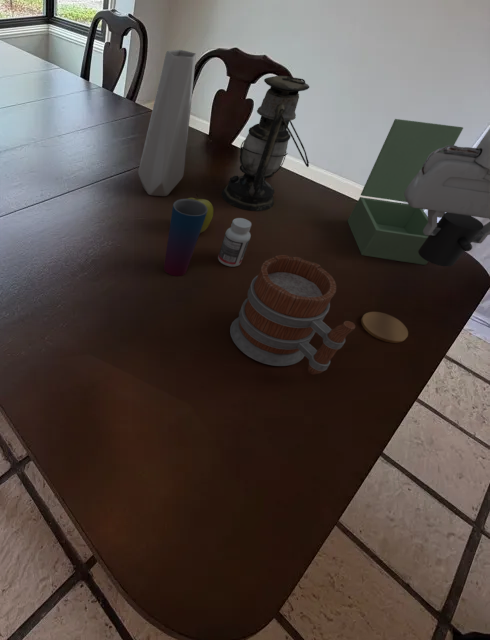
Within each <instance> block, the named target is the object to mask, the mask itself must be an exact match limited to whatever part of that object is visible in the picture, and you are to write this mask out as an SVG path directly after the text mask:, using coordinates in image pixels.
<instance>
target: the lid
mask: <svg viewBox="0 0 490 640" xmlns="http://www.w3.org/2000/svg"><path fill="white" fill-rule="evenodd" d="M463 130H464V127H463V126H458V125H457V126H456V125H447V124H439V123H431V122H423V121H416V120H408V119H400V118H394V120H393V122H392V124H391V127H390V129H389V131H388V133H387V136H386V137H385V139H384V142H383V144H382V146H381V149H380V151H379V153H378V155H377V158H376V160H375V162H374V164H373V166H372V168H371V170H370V173H369V176H368V177H367V179H366V182H365V184H364V186H363V187H362V190H361V193H360V197H366V198H373V199H380V200H387V201H394V202H401V203H403V202H404V203H407V201H406V199H405V196H404V192H405V190H406V188H407V187H408V185H409V184H410V183H411V181H412V180H413V179H414V177H415V176H416V175H417V173H418V172H419V171H420V170H421V169H422V167H423V164H424V163H425V161H426V159H427V158H428V156H429V155H430V154H431V153H432V152H433V151H435V150H437V149H440V148H444V147H445V146H447V145H454V146H455V145H456V143H457V141H458V139H459V137H460V135H461V133H462V131H463ZM439 152H443V151H439Z"/></svg>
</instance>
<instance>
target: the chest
mask: <svg viewBox="0 0 490 640" xmlns="http://www.w3.org/2000/svg"><path fill="white" fill-rule="evenodd" d="M346 221H347V223H348V226H349V228H350V231H351V233H352V236H353V238H354V241H355V243H356V245H357V247H358V250H359V252H360V254H361V256H366V257H372V258H377V259H378V258H379V259H384V260H391V261H398V262H403V263H410V264H417V265H422V266H426V265H427V264H428V263H429V262H428V261H426V260H425V259H423V258H422V257H421V256H420V255H419V253H418V251H419V249H420V248H421V246H422V245H423V243H424V242H425V240H426V239H427V238H428V236H427V235H425V234H424V233H423V229H424V228H425V226H426V225H427V223H428V214H427V213H426V212H425V210H424V209H419V208H413V207H411V206H410V205H409V204H408V203H406V202H404V203H403V202H399V201H392V200H385V199H378V198H371V197H364V196H360V197H359V198H358V200H357V202H356V203H355V205H354V207H353V209H352V210H351V213H350V215H349V216H348V218H347V220H346Z"/></svg>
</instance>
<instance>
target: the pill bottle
mask: <svg viewBox="0 0 490 640" xmlns="http://www.w3.org/2000/svg"><path fill="white" fill-rule="evenodd" d="M251 228H252V222H251V221H250V220H248V219H246V218H243V217H236V218H234V219H233V220H232V223H231V225H230V227H228V228H227V229H226V231H225V234H224V237H223V239H222V243H221V245H220V249H219V253H218V256H217V259H218V261H219V262H220V263H221V264H222V265H224V266H226V267H230V268H231V267H232V268H234V267H238V266H240V265H241V264H242V261H243V259H244V256H245V254H246V251H247V248H248V247H249V246H248V245H249V243H250V241H251V236H252V235H251V232H250V231H251Z"/></svg>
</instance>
